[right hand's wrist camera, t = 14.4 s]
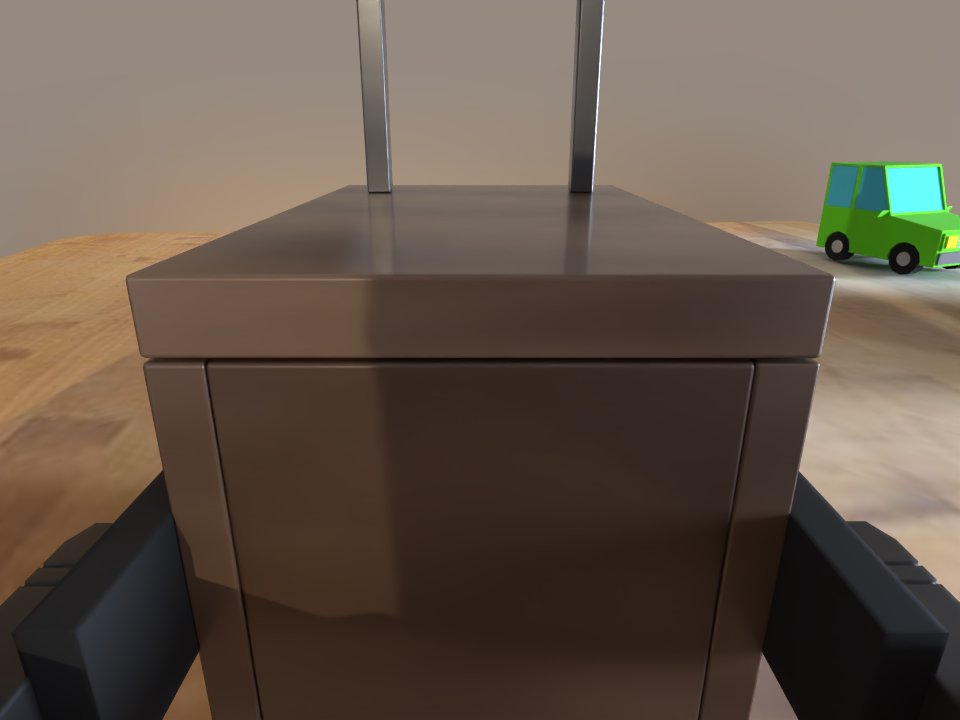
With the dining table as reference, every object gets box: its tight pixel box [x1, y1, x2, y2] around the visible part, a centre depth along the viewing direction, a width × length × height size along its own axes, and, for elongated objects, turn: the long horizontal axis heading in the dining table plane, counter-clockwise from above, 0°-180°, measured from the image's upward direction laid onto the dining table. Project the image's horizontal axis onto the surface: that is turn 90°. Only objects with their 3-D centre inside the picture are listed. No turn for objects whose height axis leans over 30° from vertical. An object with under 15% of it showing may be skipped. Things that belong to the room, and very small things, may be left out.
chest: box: [143, 358, 819, 720], centre depth 17 cm, size 14×10×10 cm
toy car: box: [816, 161, 960, 274], centre depth 64 cm, size 10×13×10 cm
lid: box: [126, 0, 836, 358], centre depth 14 cm, size 15×10×9 cm, turn 0°
